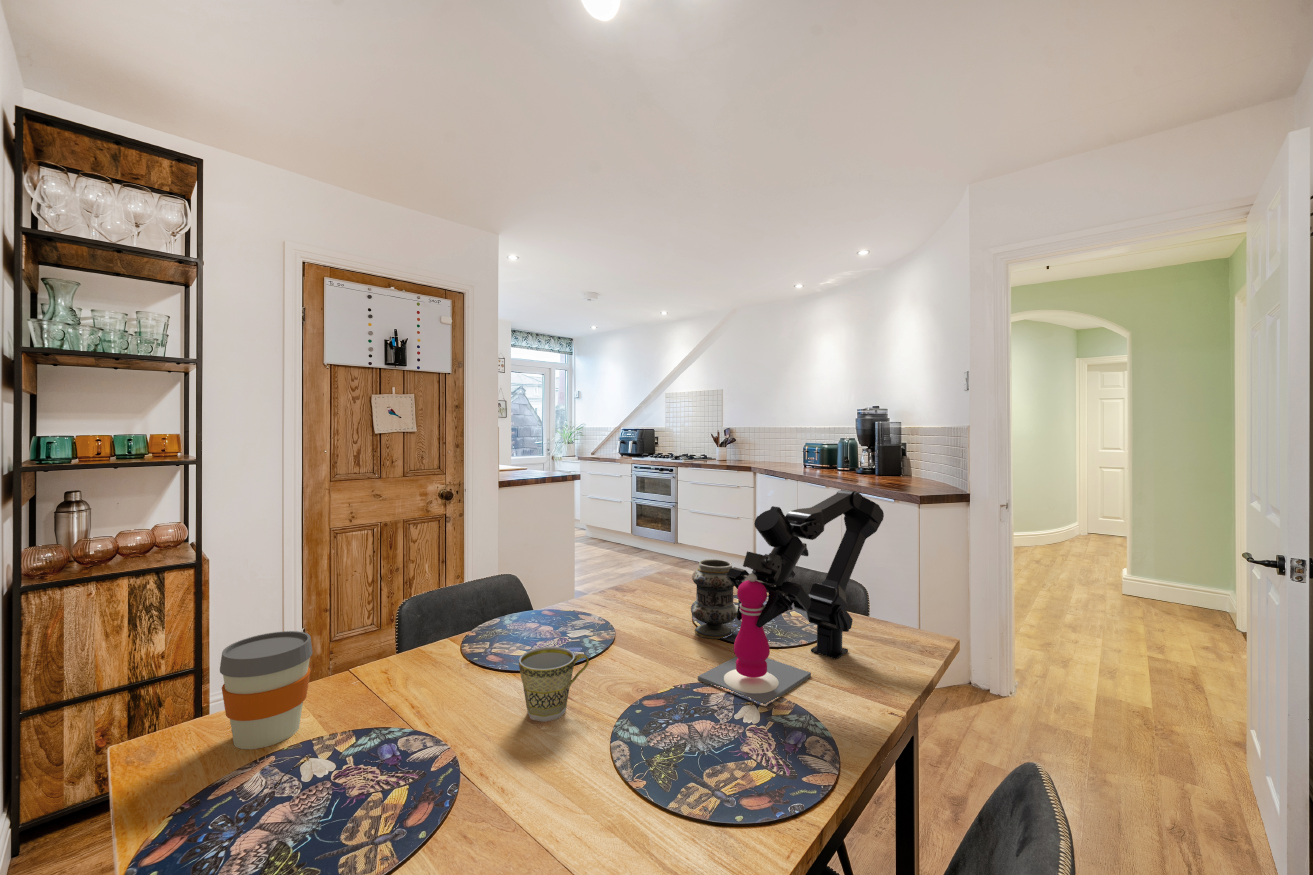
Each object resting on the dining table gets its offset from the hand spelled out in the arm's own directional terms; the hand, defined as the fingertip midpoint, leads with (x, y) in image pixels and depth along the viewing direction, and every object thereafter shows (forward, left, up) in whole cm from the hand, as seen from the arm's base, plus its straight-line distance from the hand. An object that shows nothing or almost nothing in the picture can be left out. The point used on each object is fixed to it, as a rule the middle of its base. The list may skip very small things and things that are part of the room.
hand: (747, 622), depth 109 cm
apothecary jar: (-19, -23, -13) cm, 33 cm away
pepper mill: (-1, 0, -10) cm, 10 cm away
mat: (-4, -1, -13) cm, 14 cm away
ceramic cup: (+33, -20, -13) cm, 40 cm away
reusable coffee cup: (+71, -48, -13) cm, 86 cm away
